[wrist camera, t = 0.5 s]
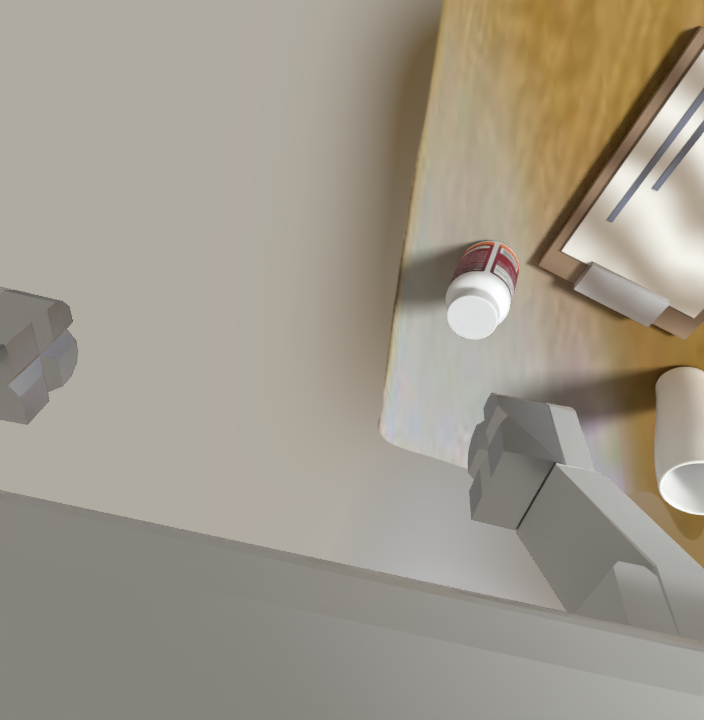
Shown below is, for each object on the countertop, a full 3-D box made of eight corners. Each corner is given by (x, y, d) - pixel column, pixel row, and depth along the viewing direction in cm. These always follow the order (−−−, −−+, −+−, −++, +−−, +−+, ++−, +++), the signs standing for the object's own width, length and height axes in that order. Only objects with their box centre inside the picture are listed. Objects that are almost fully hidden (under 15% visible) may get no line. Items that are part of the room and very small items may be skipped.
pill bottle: (455, 283, 60) (431, 336, 52) (467, 232, 56) (443, 280, 48) (511, 297, 58) (496, 354, 50) (527, 246, 54) (513, 298, 46)
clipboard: (699, 25, 40) (704, 29, 38) (900, 119, 39) (914, 127, 37) (539, 260, 55) (537, 270, 53) (683, 333, 54) (685, 346, 52)
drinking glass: (648, 409, 60) (658, 513, 49) (645, 360, 57) (655, 459, 46) (721, 408, 57) (749, 519, 46) (722, 356, 54) (753, 461, 43)
